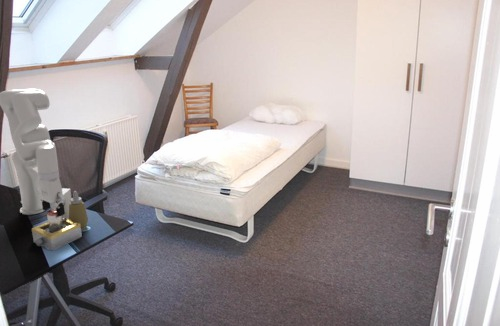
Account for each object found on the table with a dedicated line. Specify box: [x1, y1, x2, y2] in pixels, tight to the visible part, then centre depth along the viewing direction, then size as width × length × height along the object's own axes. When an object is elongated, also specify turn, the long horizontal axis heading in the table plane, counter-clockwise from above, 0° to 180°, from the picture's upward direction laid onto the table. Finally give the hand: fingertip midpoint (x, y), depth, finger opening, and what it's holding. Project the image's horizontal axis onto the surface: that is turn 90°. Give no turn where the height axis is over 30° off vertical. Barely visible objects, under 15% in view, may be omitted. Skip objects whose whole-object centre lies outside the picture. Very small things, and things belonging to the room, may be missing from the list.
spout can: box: [46, 209, 67, 232], centre depth 168 cm, size 6×8×8 cm
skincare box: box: [50, 187, 72, 219], centre depth 184 cm, size 8×7×16 cm
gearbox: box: [31, 217, 83, 251], centre depth 169 cm, size 13×16×6 cm
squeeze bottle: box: [69, 190, 89, 231], centre depth 178 cm, size 8×8×18 cm
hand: (53, 212), depth 167 cm, fingers open, 9 cm apart
